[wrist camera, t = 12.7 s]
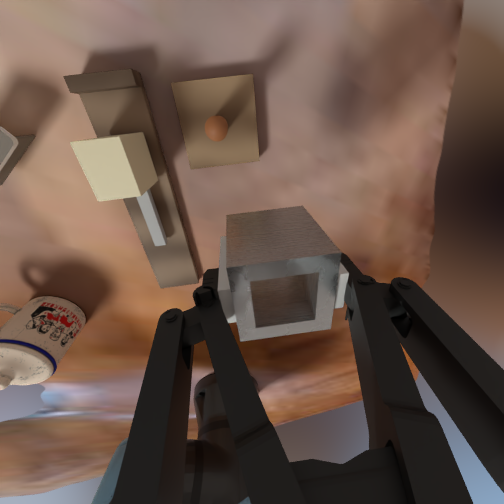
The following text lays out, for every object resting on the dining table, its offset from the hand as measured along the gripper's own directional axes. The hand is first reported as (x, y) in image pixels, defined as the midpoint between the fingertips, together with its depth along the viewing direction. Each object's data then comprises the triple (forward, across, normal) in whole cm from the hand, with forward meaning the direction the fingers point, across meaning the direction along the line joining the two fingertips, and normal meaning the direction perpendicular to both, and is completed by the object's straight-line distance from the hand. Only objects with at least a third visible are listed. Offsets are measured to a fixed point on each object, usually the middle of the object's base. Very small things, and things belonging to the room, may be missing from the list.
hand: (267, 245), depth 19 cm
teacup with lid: (+13, +35, +14) cm, 40 cm away
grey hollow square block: (0, 0, 0) cm, 0 cm away
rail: (+13, +13, 0) cm, 18 cm away
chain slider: (+11, +13, -2) cm, 17 cm away
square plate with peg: (+13, +3, -9) cm, 16 cm away
